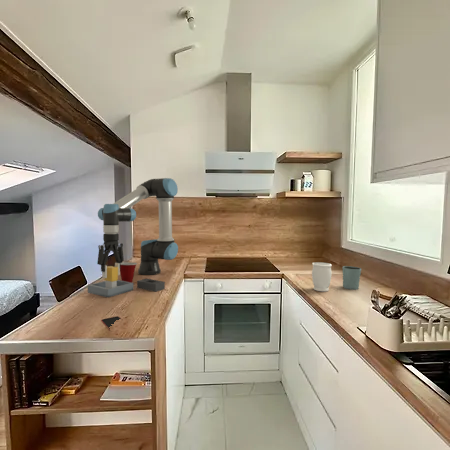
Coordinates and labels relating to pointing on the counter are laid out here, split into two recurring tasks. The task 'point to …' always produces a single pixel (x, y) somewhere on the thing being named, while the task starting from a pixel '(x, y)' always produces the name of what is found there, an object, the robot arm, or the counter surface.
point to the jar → (321, 276)
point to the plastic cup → (127, 271)
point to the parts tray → (103, 291)
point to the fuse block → (151, 285)
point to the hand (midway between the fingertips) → (111, 276)
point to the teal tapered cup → (351, 277)
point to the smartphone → (110, 321)
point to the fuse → (111, 277)
